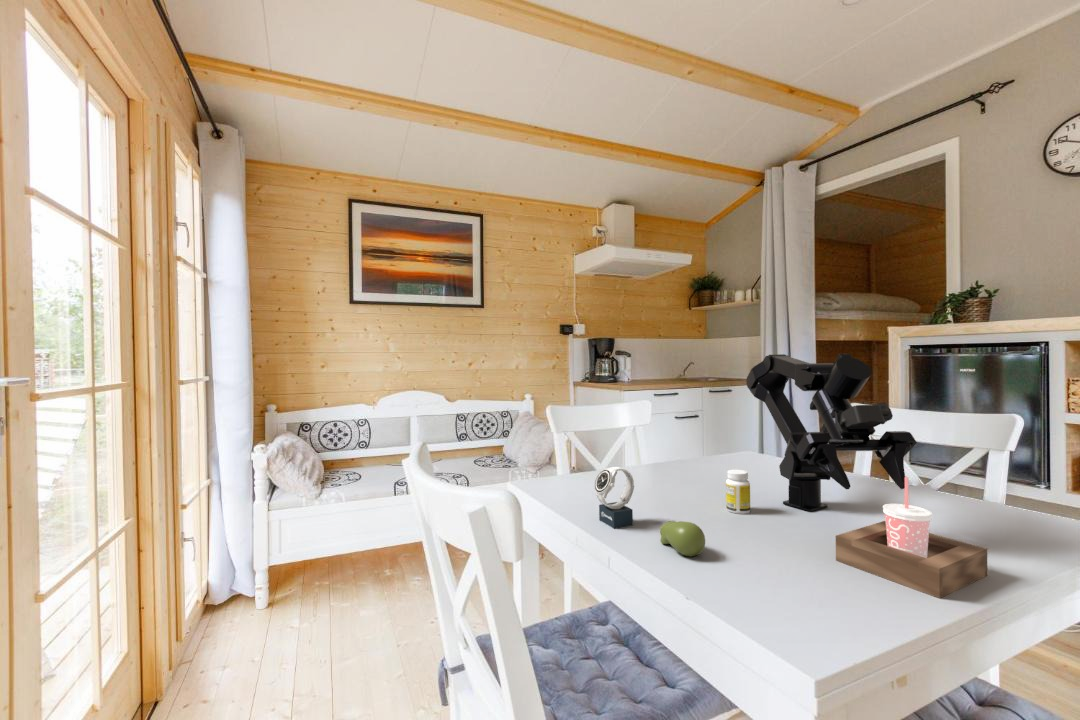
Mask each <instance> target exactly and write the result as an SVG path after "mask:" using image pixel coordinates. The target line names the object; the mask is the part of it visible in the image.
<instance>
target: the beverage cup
mask: <svg viewBox="0 0 1080 720" xmlns="http://www.w3.org/2000/svg"><path fill="white" fill-rule="evenodd" d="M909 499H910V497H909V477H908V476H905V488H904V504H903V503H885V504H883V505H882V512H883V514H884V516H885V517H884V518H885V520H884V521H886V532H887V545H888V546H889V547H892V548H895V549H899V550H902V551H905V552H908V553H912V554H915V555H918V556H921V557H924V558H927V552H928V538H929V533H930V522H931V520H932V519H933V518H932V517H933V512H932V511H930V510H928V509H927V508H923V507H920V506H916V505H911V504H910V503H909V502H910V501H909Z"/></svg>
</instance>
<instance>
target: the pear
mask: <svg viewBox="0 0 1080 720" xmlns="http://www.w3.org/2000/svg"><path fill="white" fill-rule="evenodd" d="M659 530H660V543H661V544H662V545H669V544H670V545H671V547H672V548H673V549H674V550H675V551H676V552H678V553H679V554H680V555H683V556H685V557H694V556H698V555H699V554H701V553H702V552H703V550H704V549H705V546H706V536H705V533H704V531H703V529H702V528H701V527H700V526H699V525H697V524H695V523H693V522H690V521H682V520H681V521H674V520H671V521H667V522H665V523H664V524H661V527H660V528H659Z"/></svg>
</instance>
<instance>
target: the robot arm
mask: <svg viewBox="0 0 1080 720" xmlns="http://www.w3.org/2000/svg"><path fill="white" fill-rule="evenodd" d="M871 376H872V369H871V367H870V365H868V364H866V363H865V362H863V361H862V360H861V359H858V358H855V357H852V355H851V354H850V353H838V355H837V357H836V359H835V362H834V363H833V362H831V363H830V362H823V363H822V362H819V363H818V362H817V363H815V362H814V363H813V362H812V363H811V362H808V361H805V360H800V359H797V358H794V357H790V356H789V355H788V354H768V355H765V356H764V358H763V360H762V361H760V362H759V363H757V364H756V365H754V366H753V367H752V368H751V369H750V371H749V373H748V374H747V376H746V379H745V380H746V382H745V383H746V388H747V389H748V390H749V392H750V393H751V395H753V397H754V398H756V399H757V400H760V401H761V402H763V403H764V404H765V405H766V408H767V410H768V411H769V413H770V415H771V417H772V419H773V421H774V423H775V424H776V426H777V428H778V430H779V433H780V434H781V435H782V438H783V439H784V441H785V443H786V448H785V452H784V458H783V459H782V461H781V463H780V464H779V465H778V467H779V472H780V476H782V477H783V478H785V479H787V480H788V499H787V500H784V501H782V504H783V505H786V506H788V507H789V506H790V507H793V508H796V509H800V510H804V511H807V512H815V511H817V510H822V509H825V508H828V507H829V504H828V503H827V504H826V503H823V502H822V495H821V493H822V488H821V487H822V486H821V485H822V484H821V483H822V480H827V481H829V480H831V479H832V480H834V481H835V482H836V483H838V485H840V486H841V487H842V488H844V489H845V490H849V489H850V488H851V483H850V480H849V478H848V475H847V473H846V472H845V470H844V468H843V466H842V464H841V461H840V460H839V458H838V455H837V454H838V453H837V452H839V451H841V452H843V451H844V452H875V454H876V456H877V458H879V459H880V461H879V464H880V465H881V466H882V468H883V470H884V471H885V472H886V474H888V475H889V477H890V478H891V480H892V481H893V482H894V484H895V485H896V486H897V487H899V489H900V490H905V477H906V474H905V473H906V472H905V464H904V463H905V456H907V454H908V453H909V452H910V451H911V450H912V449H913V448H914V446H916V445H917V443H918V441H917V440H916V439H915V437H914V435H913V434H912V432H910V431H906V430H899V431H898V430H893V431H889V430H887V431H885V432H884V433H883V434H882V435H881V437H880V438H878V439H877V438H876V439H872V438H871V439H870V436H871V435H874V433H875V432H876V429H875V427H877V426H879V425H884V424H886V423H887V422H888V421H890V420H892V419H893V416H894V415H893V413H892V409H891V408H890V407H889V405H888V404H887V403H886V402H875V403H874V404H858V405H857V404H856V405H852V403H851V402H850V400H852V399H855V398H856V397H857V396H858V395H859V393H860V392H861V391H862V389H863V388H864V386H865V384H866V383H867V382H868V380H869V378H871ZM790 379H792V380H794V386H796V387H797V388H799V389H800V390H801V391H803V392H814V394H813V396H812V398H811V402H810V404H809V410H810V411H817V413H818V415H819V417H820V419H821V421H822V423H823V425H822V426H821V430H822V431H807V429H806V427H805V426H804V424H803V422H802V421H801V420H800V418H799V416H798V414H797V412H796V411H795V409H794V407H793V406H792V404H791V402H790V400H789V399H788V397H787V396H786V393H785V392H784V391H785V388H786V384H787V382H789V380H790Z"/></svg>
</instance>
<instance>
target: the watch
mask: <svg viewBox="0 0 1080 720" xmlns="http://www.w3.org/2000/svg"><path fill="white" fill-rule="evenodd" d="M618 471H619V472H620V471H622V472H623V473H624V474H625V477H626V483H625V484H624V488H623V491H622V492H621V495H620V497H619V500H618V501H616V502H609V503H608V502H607V501H606V500H605V499H606V498H607V496H608V494H609V493H610V492H611V491H612V489H613V488H614V487H615V483H616V476H617V474H618ZM634 481H635V480H634V478H633V475H632V474H631V472H630V471H628V470H627V469H624V468H622V467H620V466H610V467H607V468H605V469H603V470H601V471H600V472H599V473H598V474H597V476H596V479H595V480H594V490H595V494H596V496H597V497H596V498H597V499H598V501H599V502H600V504H599V505H598V508H599V509H598V511H599V513H598V516H599V521H600V522H602V523H604V524H605V525H608V526H609V527H611V528H612V529H614V530H615V529H619V528H625V527H629V526H634V523H633V522H634V519H633V518H634V517H633V516H634V515H633V514H634V512H633V508H630V507H628V506H626V504H629V502H630V501H631V498H632V496H633V493H634V489H635V484H634V483H635V482H634Z"/></svg>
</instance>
